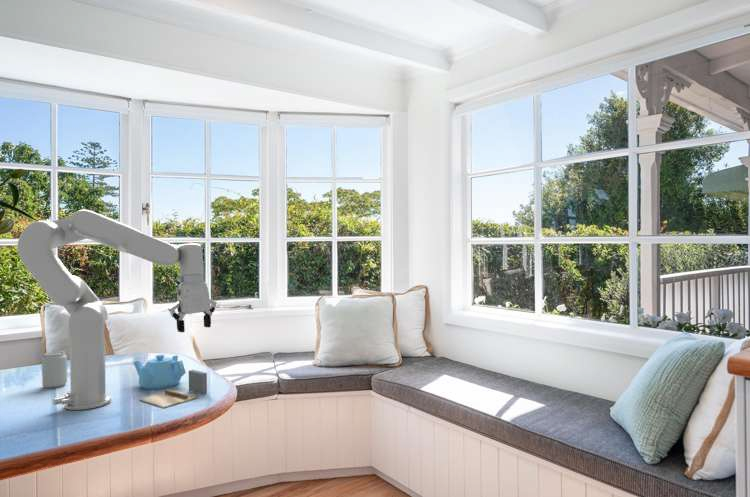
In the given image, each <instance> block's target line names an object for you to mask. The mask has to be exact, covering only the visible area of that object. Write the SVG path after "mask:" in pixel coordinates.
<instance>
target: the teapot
mask: <svg viewBox="0 0 750 497" xmlns="http://www.w3.org/2000/svg"><path fill="white" fill-rule="evenodd" d="M178 359H179V355H172V357H165V354H157V355H155V358H152V359H149V360H147V362H146V363H145V364H144V365H143V364H142V363H141V361H140V360H135V361H133V365H134V367H135V370H136V372H137V374H138V377H139V378H138V384H139V385H140V387H142V389H144V390H146V389H147V390H161V388H163V389H168V388H171V386H172V387H174V385H175V386H176V385H178V383H179V382H180V381H181V379H182V377H183V376H184V375H185V374H186V368H185V365H184V362H183V360H178ZM167 387H168V388H167Z"/></svg>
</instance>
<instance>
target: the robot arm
mask: <svg viewBox="0 0 750 497" xmlns="http://www.w3.org/2000/svg"><path fill="white" fill-rule="evenodd" d="M83 240H90V241H93V242H95V243H99V244H101V245H103V246H106V247H109V248H111V249H114V250H117V251H118V252H120V253H121V252H122V253H126V254H129V255H132V256H135V257H137V258H140V259H143V260H146V261H147V262H150V263H154V264H156V265H158V266H161V267H165V268H166V267H167V268H168V267H172V266H175V265H176V266H177V265H179V276H178V277H176V281H177V282H179V284H178V286H177V295H176V296H177V297H176V303H174V304H173V305H171V306H169V307H168V308H167V309H168V312H169V314H170V316H171V317H172V318H174V320H175V321H176V329H177V332H178V333H184V332H185V320H184V318H185V316H186V315H193V314H198V313H203V314H204V315H203V326H204V327H205V328H211V327H212V326H211V324H212V317H211V316H212V315H213V313H214V312H215V310H216V306H217V301H215V300H213V299H211V298H210V292H209V288H208V284H207V282H205V279H204V260H203V259H204V258H203V248H202V247H203V246H202V245H201V244H200V243H182V244H171V243H168V242H167V241H163V240H160V239H158V238H156V237H153V236H151V235H148V234H146V233H143V232H141V231H140V230H137V229H136V228H134V227H131V226H129V225H127V224H124V223H122V222H120V221H117V220H115V219H113V218H110V217H107V216H105V215H103V214H100V213H97V212H95V211H92V210H90V209H80V210H77V211H75V212H74V213H73V214H72V215H71V216H68V217H64V218H61V219H56V220H53V221H49V220H36V221H32V222H31V223H29V224H28V225H27V226H26V227H25V228H24V229H23V230H22V232H21V234H20V236H19V238H18V240H17V251H18V252H17V253H18V256H19V258H20V261H21V263H22V264H23V266H24V267H25V269H26V270H27V271H28V272H29V273H30V275H31V276H32V277H33V278H34V280H35V281H36V283H37V284H38V286H39V287H40V288H41V289H42V291H44V293H45V294H46V296H47V297H48V298H49V300H50V301H51V302H52V303H53V304H55V305H56V306H60V307H63V308H64V309H65V310H66V312H68V314H69V318H68V322H67V323H68V327H67V328H68V336H69V339H68V340H69V359H70V360H69V366H70V367H69V368H70V370H69V371H70V376H69V377H70V391H67V392H66V394H65V395H64V396H62V397H55V398H52V405H53V406H56V405H60V404H61V405H64V408H65V409H66V410H71V411H83V410H90V409H95V408H99V407H102V406H105V405H107V404H110V402H111V401H112V397H111V395H108V394H107V393H106V392H107V391H106V387H107V384H106V341H105V340H106V338H105V323H106V321H107V318H108V310H107V309H106V307H105V305H104V304H103V303H102V301H101V300H100V299H99V298H98V296H97V295H96V294H95V292H94V291H93V290H92V289H91V288H90V286H89V285H88V284H87V282H86V281H85V280H84V279H82V278H81V277H79V276H77V275H74V274H73V275H72V273H71V272H70V271H69V270H68V269H67V268H66V266H65V265H64V264H63V262H62V260H60V258H59V257H58V256H57V255H56V254H55V252H54V250H53V249H56V248H59V247H63V246H67V245H69V244H74V243H77V242H80V241H83ZM176 309H177V312H178V313H176Z"/></svg>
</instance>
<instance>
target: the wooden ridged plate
mask: <svg viewBox="0 0 750 497" xmlns="http://www.w3.org/2000/svg"><path fill="white" fill-rule="evenodd" d="M198 398H199V396H196V395H192V394H189V393H185V392H182V391H178V390H174V389H173V390H171V389H169V388H165V389H164V392H161V393H158V394H154V395H151V396H146V397H142V398H139V401H140V402H143V403H146V404H149V405H152V406H155V405H156V406H155V407H158V406H159V407H158V408H161V407H162V408H161V409H166V408H169V407H172V405H173V406H175V405H179V404H180V405H181V404H182V403H187V402H189V401H192V400H193V401H194V400H196V399H198ZM165 407H166V408H165Z"/></svg>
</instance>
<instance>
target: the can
mask: <svg viewBox="0 0 750 497" xmlns="http://www.w3.org/2000/svg"><path fill="white" fill-rule="evenodd" d="M65 353H66V352H65V351H62V350H61V351H59V350H58V351H51V352H47V353H44V356H43V357H42V358H41V361H42V362H41V366H42V368H41V369H42V370H41V372H42V375H41V376H42V377H41V378H42V387H44V388H46V389H55V388H60V387H64V386H65V385H66V384H67V383H68V357H67V356H68V355H67V354H65Z"/></svg>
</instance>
